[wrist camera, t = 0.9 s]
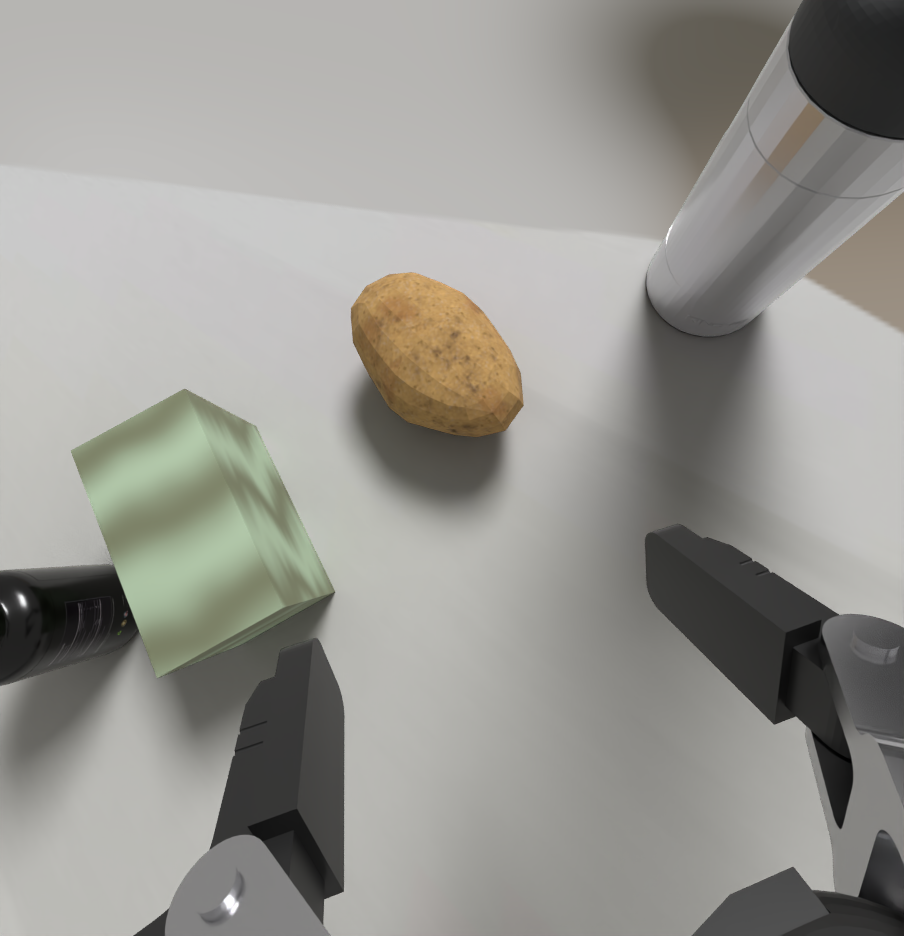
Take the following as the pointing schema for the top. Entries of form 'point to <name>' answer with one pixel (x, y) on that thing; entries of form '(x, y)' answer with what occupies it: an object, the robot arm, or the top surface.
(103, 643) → the supplement bottle
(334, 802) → the robot arm
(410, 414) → the potato
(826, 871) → the top surface
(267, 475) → the sage-green block
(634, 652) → the top surface
